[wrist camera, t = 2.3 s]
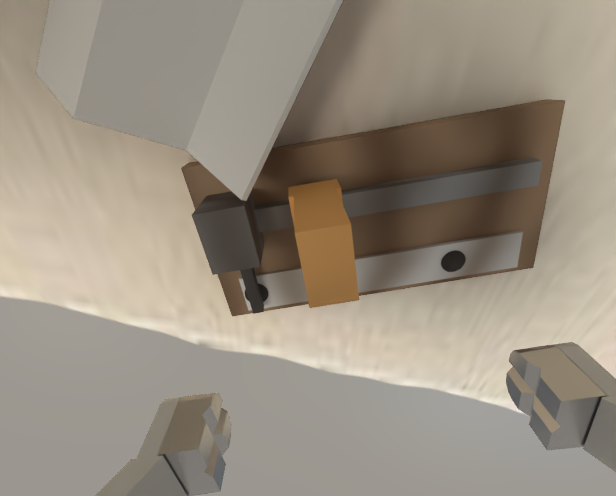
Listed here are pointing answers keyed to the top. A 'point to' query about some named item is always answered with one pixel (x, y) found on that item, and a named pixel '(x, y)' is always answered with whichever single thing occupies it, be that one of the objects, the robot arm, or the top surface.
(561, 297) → the top surface
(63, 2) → the z bracket
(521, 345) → the top surface
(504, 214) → the gauge board
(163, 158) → the top surface
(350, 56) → the top surface
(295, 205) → the sliding jaw
